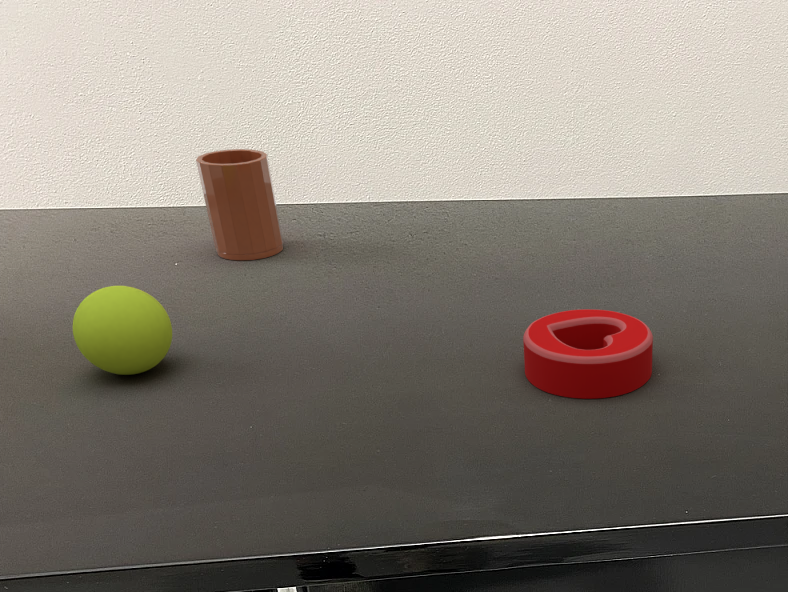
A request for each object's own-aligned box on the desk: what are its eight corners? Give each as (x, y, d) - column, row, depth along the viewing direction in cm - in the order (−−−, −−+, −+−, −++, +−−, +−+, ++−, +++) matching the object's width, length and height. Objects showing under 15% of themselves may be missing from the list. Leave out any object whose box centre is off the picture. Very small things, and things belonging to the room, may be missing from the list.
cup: (213, 262, 92) (192, 166, 87) (220, 242, 97) (200, 150, 92) (281, 258, 93) (264, 163, 88) (285, 238, 98) (268, 147, 94)
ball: (77, 393, 68) (50, 308, 65) (97, 356, 73) (72, 276, 70) (174, 385, 70) (152, 301, 66) (186, 349, 75) (167, 270, 72)
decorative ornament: (527, 345, 77) (525, 308, 75) (647, 344, 77) (648, 307, 76) (522, 399, 69) (520, 359, 67) (656, 397, 69) (657, 357, 68)
